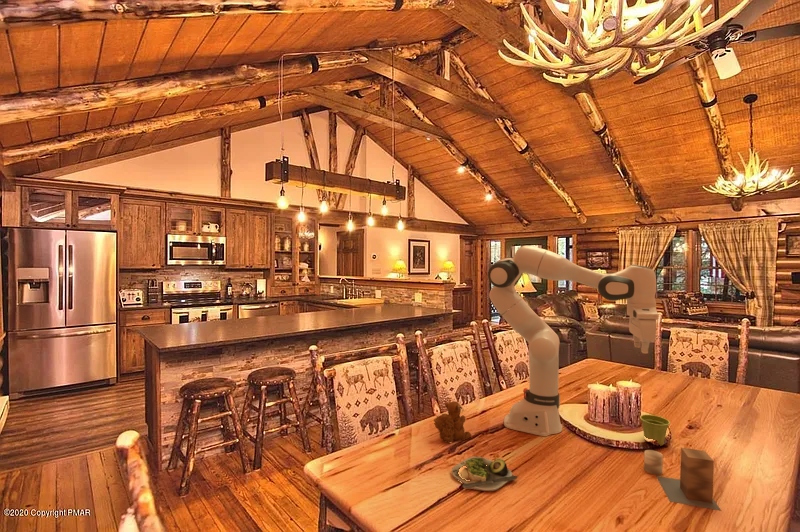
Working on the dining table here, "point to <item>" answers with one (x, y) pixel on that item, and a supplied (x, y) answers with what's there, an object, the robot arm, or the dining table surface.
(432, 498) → the dining table surface
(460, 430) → the stuffed squirrel
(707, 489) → the tower base
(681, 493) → the felt mat
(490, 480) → the salad plate
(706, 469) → the tower top
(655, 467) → the birch round
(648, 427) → the plant pot
